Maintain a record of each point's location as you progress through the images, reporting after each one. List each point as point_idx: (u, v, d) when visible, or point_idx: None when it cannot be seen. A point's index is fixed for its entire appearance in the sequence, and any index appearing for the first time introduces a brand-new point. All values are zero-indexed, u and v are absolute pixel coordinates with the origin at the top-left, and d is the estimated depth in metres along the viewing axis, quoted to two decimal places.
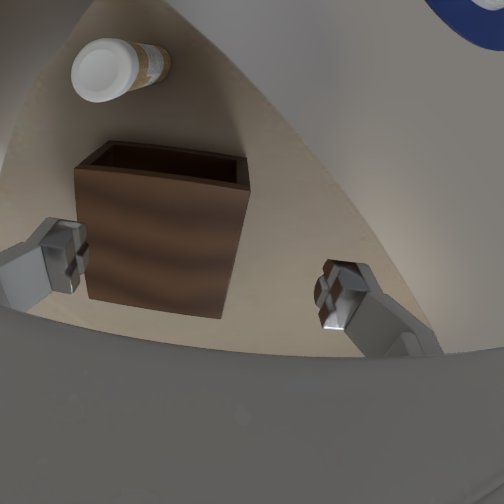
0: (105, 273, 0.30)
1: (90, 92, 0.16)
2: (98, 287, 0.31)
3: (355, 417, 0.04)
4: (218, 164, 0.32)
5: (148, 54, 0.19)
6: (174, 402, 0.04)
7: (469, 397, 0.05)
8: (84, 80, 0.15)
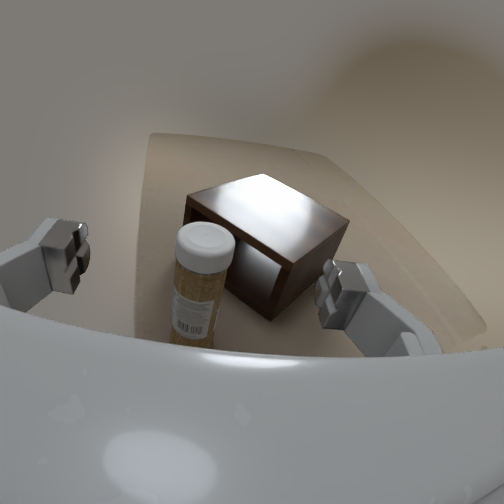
0: (321, 219, 0.40)
1: (224, 232, 0.24)
2: (335, 219, 0.41)
3: (355, 417, 0.04)
4: None
5: None
6: (174, 402, 0.04)
7: (469, 398, 0.05)
8: (221, 239, 0.23)
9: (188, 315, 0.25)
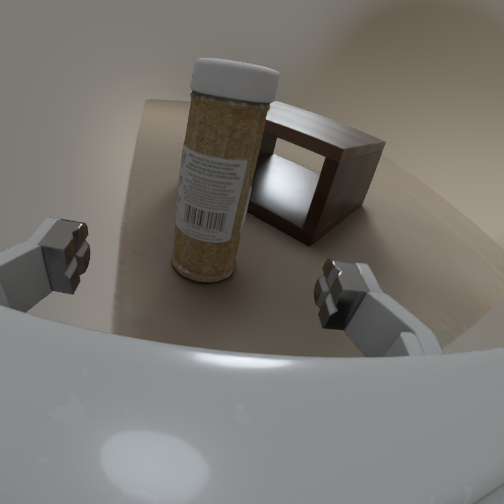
0: (356, 133, 0.31)
1: None
2: (370, 137, 0.32)
3: (355, 417, 0.04)
4: None
5: None
6: (174, 402, 0.04)
7: (469, 397, 0.05)
8: None
9: (205, 190, 0.16)
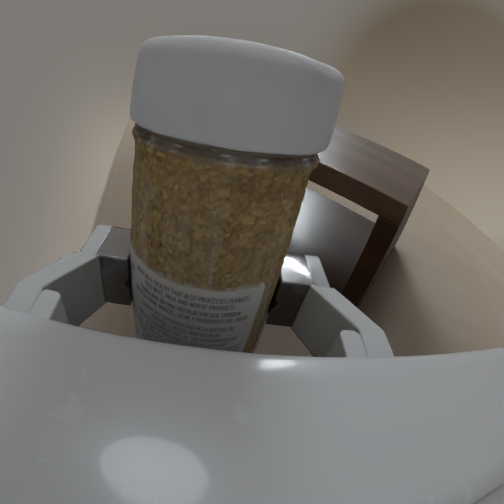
0: (398, 160, 0.22)
1: None
2: (413, 164, 0.24)
3: (355, 417, 0.04)
4: None
5: None
6: (174, 402, 0.04)
7: (469, 398, 0.05)
8: None
9: (179, 339, 0.08)
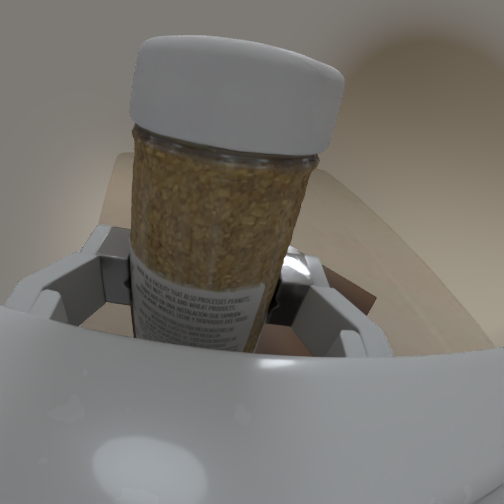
0: None
1: None
2: (356, 300, 0.27)
3: (355, 417, 0.04)
4: None
5: None
6: (174, 402, 0.04)
7: (468, 397, 0.05)
8: None
9: (179, 339, 0.08)
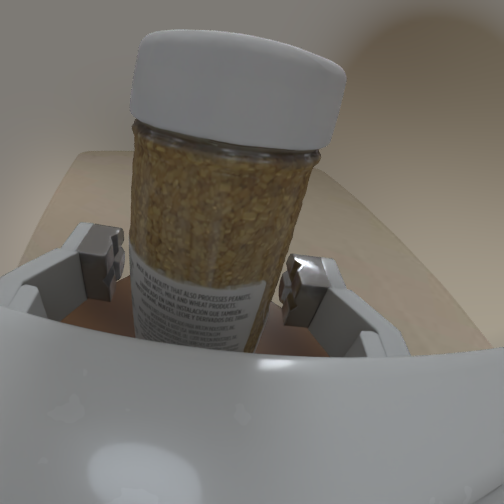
0: None
1: None
2: None
3: (355, 417, 0.04)
4: None
5: None
6: (174, 402, 0.04)
7: (469, 397, 0.05)
8: None
9: (178, 337, 0.07)
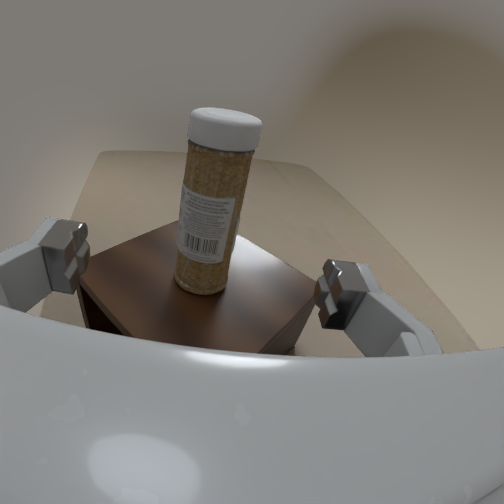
0: (274, 292, 0.26)
1: (247, 114, 0.18)
2: (298, 287, 0.27)
3: (355, 417, 0.04)
4: None
5: None
6: (174, 402, 0.04)
7: (468, 397, 0.05)
8: (246, 116, 0.18)
9: (201, 222, 0.20)
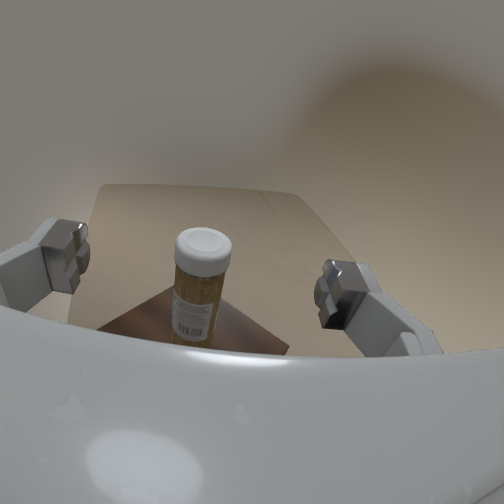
0: None
1: (221, 237, 0.25)
2: (268, 349, 0.33)
3: (355, 417, 0.04)
4: None
5: None
6: (174, 402, 0.04)
7: (468, 398, 0.05)
8: (219, 243, 0.24)
9: (189, 318, 0.26)
